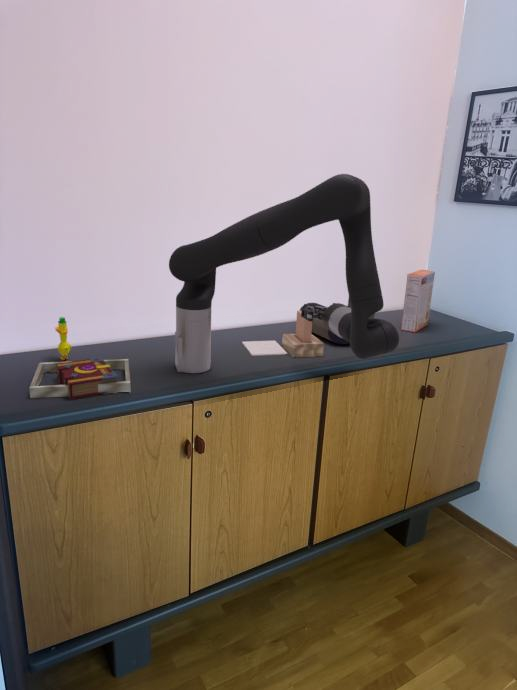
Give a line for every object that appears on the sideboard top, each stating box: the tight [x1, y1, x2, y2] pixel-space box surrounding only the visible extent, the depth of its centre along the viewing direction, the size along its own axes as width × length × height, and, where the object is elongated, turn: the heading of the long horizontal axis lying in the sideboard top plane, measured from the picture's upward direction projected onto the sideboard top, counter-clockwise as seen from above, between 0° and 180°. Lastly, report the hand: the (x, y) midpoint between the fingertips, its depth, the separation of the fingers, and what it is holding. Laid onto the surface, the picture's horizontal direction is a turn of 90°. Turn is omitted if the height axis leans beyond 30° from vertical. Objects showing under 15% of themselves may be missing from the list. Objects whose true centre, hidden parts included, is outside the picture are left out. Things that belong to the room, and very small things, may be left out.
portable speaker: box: [298, 302, 350, 345], centre depth 172 cm, size 25×10×10 cm, turn 30°
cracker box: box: [400, 269, 436, 333], centre depth 186 cm, size 14×6×21 cm, turn 144°
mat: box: [241, 340, 289, 357], centre depth 157 cm, size 11×13×1 cm
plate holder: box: [281, 333, 325, 358], centre depth 156 cm, size 9×11×4 cm
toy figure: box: [54, 316, 72, 361], centre depth 138 cm, size 7×4×12 cm, turn 42°
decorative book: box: [56, 356, 119, 400], centre depth 124 cm, size 11×16×5 cm
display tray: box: [28, 358, 132, 399], centre depth 125 cm, size 22×17×2 cm
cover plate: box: [294, 310, 312, 343], centre depth 155 cm, size 2×7×12 cm, turn 15°
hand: (319, 307), depth 142 cm, fingers open, 8 cm apart
